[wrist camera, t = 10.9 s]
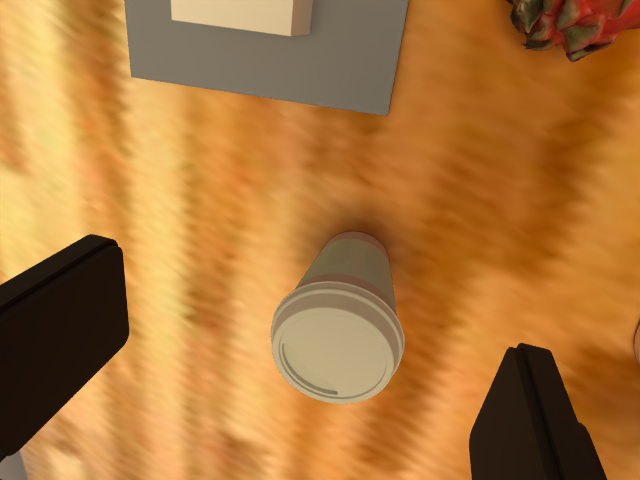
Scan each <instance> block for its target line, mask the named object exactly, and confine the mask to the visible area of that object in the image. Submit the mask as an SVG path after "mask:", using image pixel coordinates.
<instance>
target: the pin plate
mask: <svg viewBox="0 0 640 480" xmlns="http://www.w3.org/2000/svg"><path fill="white" fill-rule="evenodd" d="M124 2H125V13H126V24H127V35H128V47H129V58H130V69H131V77H134V78H141V79H147V80H154V81H160V82H167V83H173V84H180V85H186V86H193V87H199V88H206V89H212V90H219V91H226V92H232V93H239V94H245V95H252V96H258V97H265V98H271V99H278V100H284V101H291V102H297V103H304V104H311V105H317V106H324V107H330V108H337V109H343V110H350V111H356V112H363V113H369V114H376V115H382V116H388V111H389V106H390V100H391V95H392V89H393V84H394V79H395V73H396V68H397V62H398V57H399V51H400V46H401V40H402V35H403V29H404V24H405V18H406V13H407V7H408V2H409V0H313V5H312V15H311V26H310V35H299V36H286V35H278V34H271V33H264V32H256V31H249V30H242V29H235V28H227V27H220V26H213V25H205V24H198V23H191V22H184V21H176V20H172V15H171V0H124Z"/></svg>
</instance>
